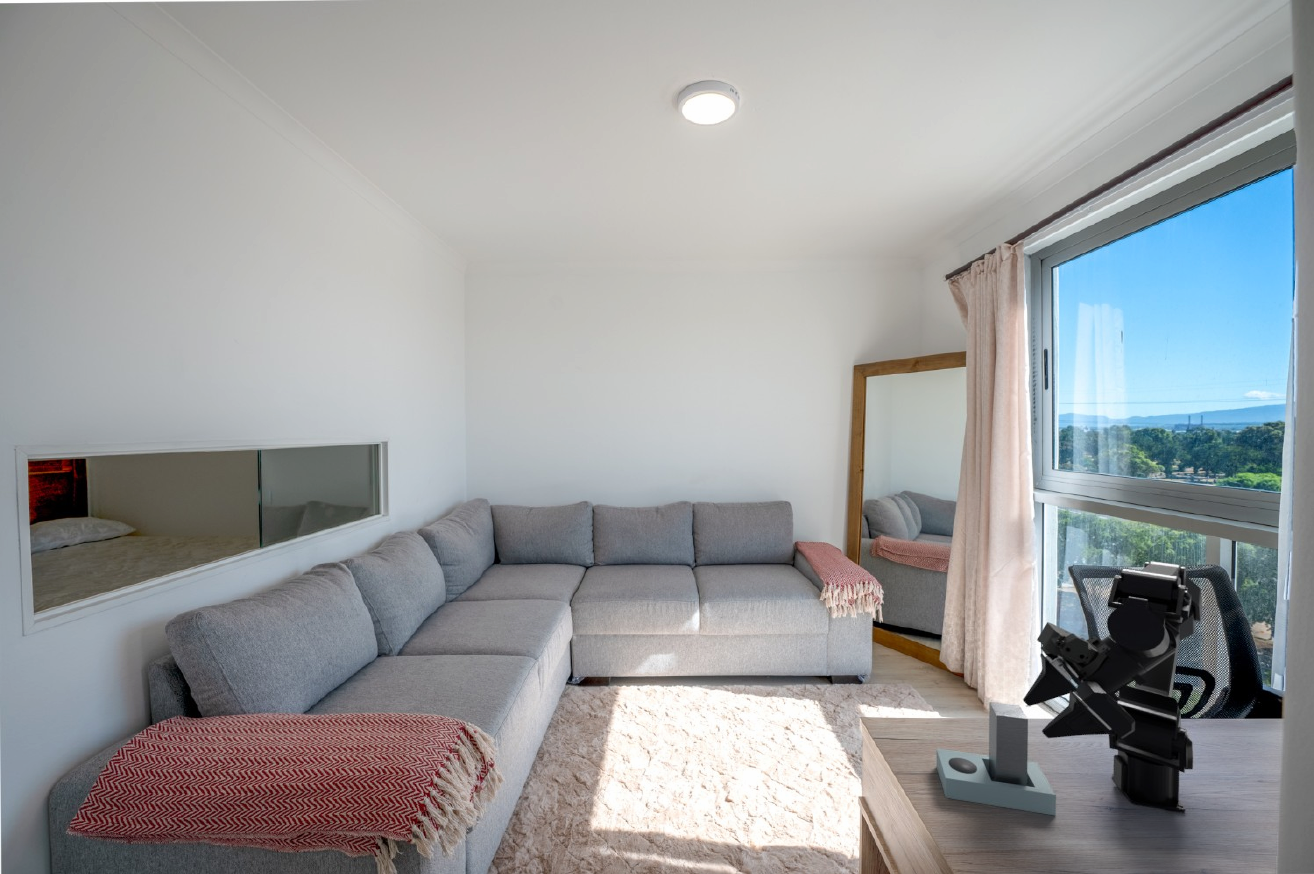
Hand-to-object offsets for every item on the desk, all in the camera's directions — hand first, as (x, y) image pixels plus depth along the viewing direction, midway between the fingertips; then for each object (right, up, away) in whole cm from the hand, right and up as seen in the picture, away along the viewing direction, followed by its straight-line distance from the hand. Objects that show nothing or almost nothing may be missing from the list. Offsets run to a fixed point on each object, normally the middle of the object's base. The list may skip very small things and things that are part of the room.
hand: (1034, 717), depth 84 cm
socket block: (-5, -12, +2) cm, 13 cm away
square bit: (-3, -12, +1) cm, 12 cm away
